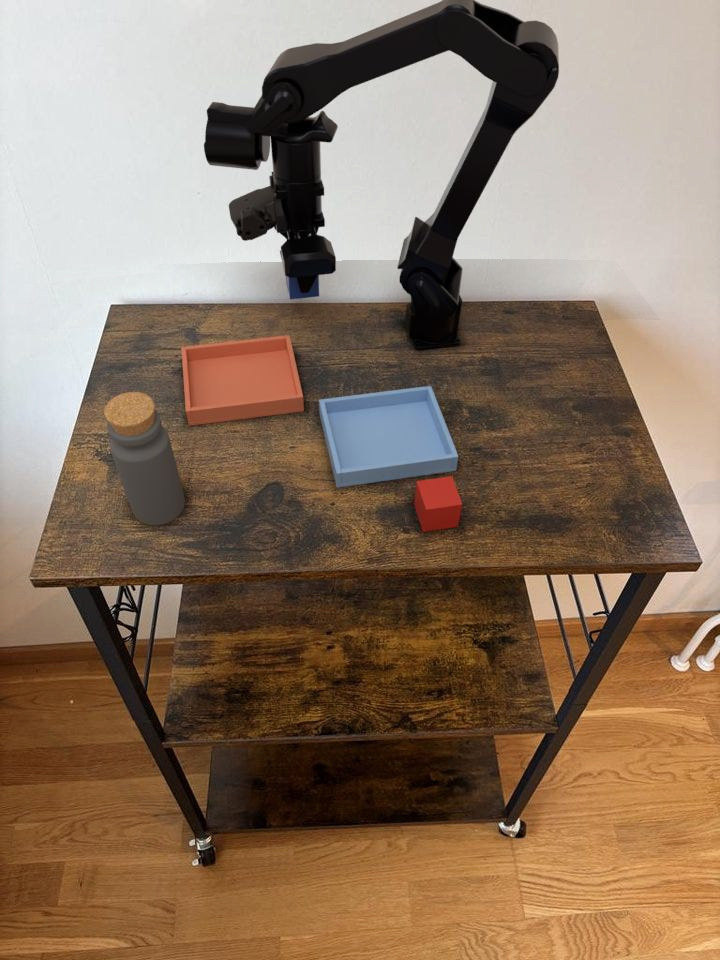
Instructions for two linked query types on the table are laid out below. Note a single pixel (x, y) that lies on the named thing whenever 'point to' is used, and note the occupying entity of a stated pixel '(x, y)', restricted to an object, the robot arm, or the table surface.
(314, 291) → the blue block
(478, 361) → the table surface
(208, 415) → the orange tray
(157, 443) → the bottle
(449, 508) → the red block
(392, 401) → the blue tray
